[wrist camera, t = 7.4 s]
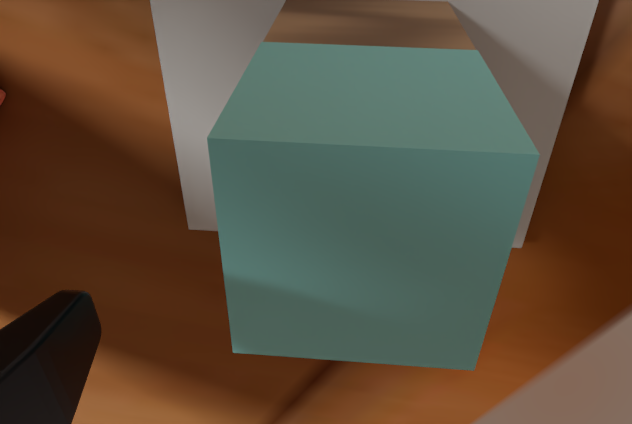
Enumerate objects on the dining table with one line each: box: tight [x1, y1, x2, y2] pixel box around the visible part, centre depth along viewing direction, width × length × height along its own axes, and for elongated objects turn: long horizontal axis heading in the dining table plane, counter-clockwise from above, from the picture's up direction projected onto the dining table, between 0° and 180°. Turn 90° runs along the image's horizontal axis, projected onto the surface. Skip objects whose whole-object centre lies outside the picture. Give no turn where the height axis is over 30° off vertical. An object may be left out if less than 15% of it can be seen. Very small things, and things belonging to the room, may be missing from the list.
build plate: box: [150, 0, 599, 248], centre depth 18 cm, size 14×14×1 cm
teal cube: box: [207, 42, 540, 371], centre depth 11 cm, size 5×5×5 cm
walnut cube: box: [263, 0, 476, 50], centre depth 15 cm, size 5×5×5 cm
